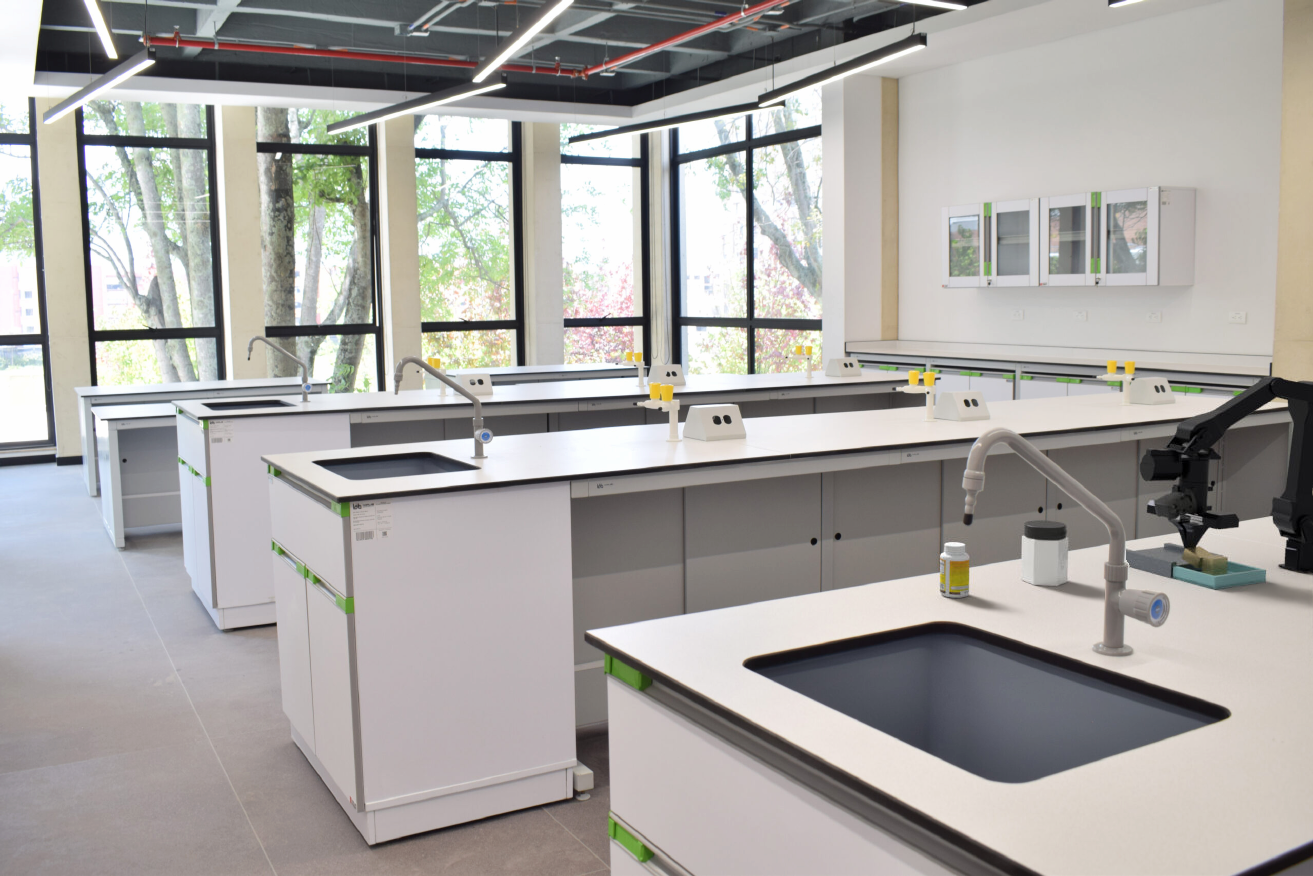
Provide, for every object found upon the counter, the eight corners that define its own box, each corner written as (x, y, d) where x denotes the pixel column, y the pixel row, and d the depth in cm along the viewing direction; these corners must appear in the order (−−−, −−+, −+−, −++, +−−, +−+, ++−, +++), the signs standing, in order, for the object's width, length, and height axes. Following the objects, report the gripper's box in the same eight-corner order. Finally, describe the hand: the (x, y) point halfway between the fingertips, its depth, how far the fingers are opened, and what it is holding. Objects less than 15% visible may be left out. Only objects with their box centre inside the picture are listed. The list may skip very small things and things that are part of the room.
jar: (1053, 588, 209) (1054, 530, 208) (1015, 582, 215) (1016, 524, 214) (1073, 580, 215) (1074, 523, 214) (1035, 574, 221) (1036, 518, 220)
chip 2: (1217, 554, 215) (1227, 557, 213) (1216, 573, 216) (1226, 576, 214) (1202, 556, 214) (1213, 559, 212) (1201, 575, 214) (1212, 578, 212)
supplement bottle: (974, 595, 206) (975, 544, 204) (958, 600, 202) (958, 548, 201) (950, 589, 210) (951, 539, 209) (933, 594, 206) (934, 544, 205)
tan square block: (1195, 556, 220) (1199, 546, 219) (1211, 566, 217) (1214, 555, 216) (1181, 558, 219) (1185, 548, 218) (1196, 568, 215) (1200, 557, 214)
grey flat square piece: (1168, 557, 234) (1169, 542, 233) (1222, 570, 221) (1223, 555, 220) (1118, 563, 228) (1118, 549, 228) (1170, 578, 215) (1171, 562, 215)
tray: (1222, 571, 220) (1223, 559, 220) (1265, 581, 211) (1266, 569, 211) (1172, 578, 215) (1173, 566, 215) (1214, 589, 206) (1214, 577, 206)
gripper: (1128, 476, 223) (1124, 547, 225) (1201, 490, 206) (1196, 567, 208) (1168, 472, 227) (1164, 543, 229) (1243, 487, 210) (1238, 562, 212)
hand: (1188, 553), depth 220 cm, fingers closed
